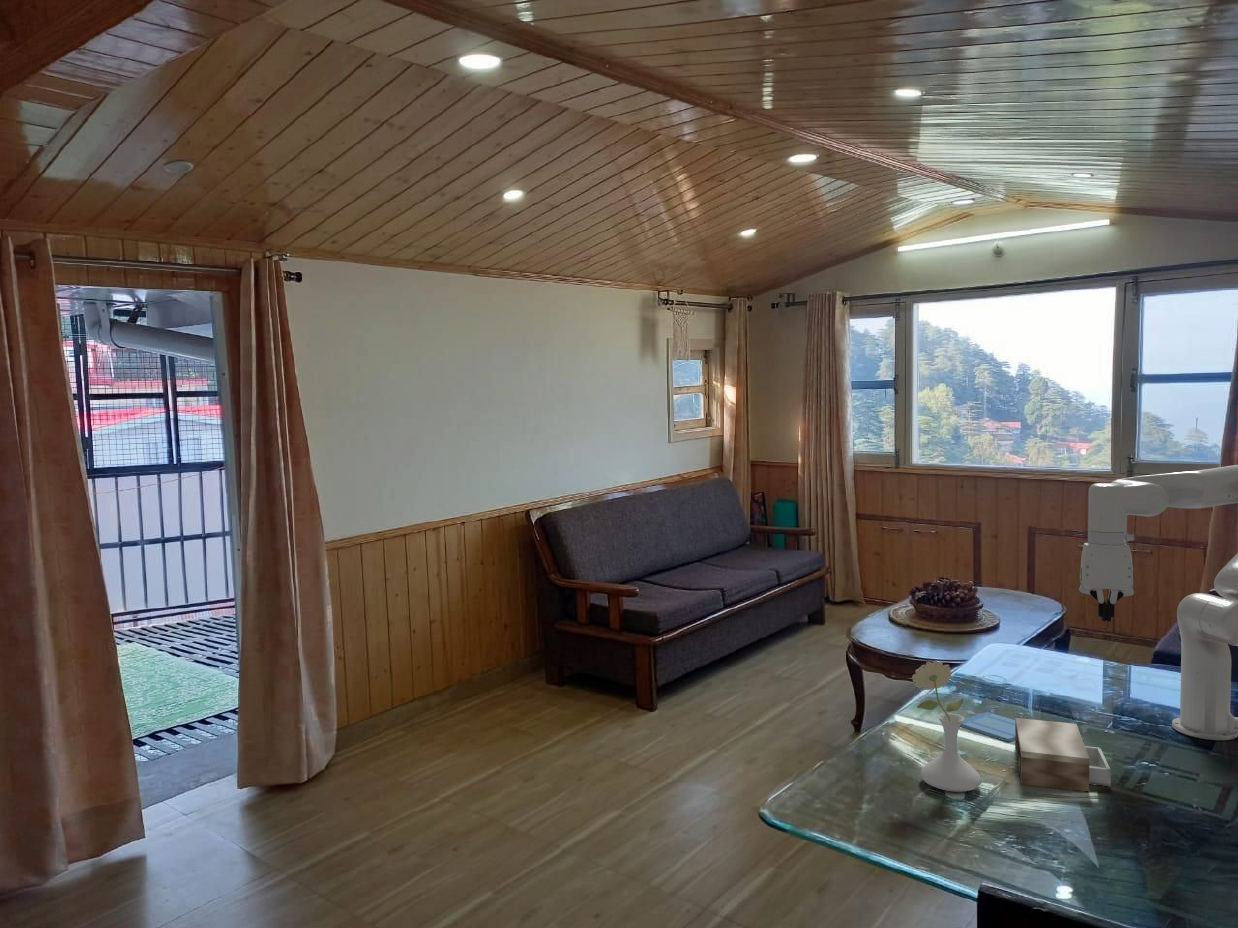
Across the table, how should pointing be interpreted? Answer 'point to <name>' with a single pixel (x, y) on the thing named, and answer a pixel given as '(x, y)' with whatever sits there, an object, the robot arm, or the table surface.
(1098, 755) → the white open tray
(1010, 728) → the blue flat rectangular slab
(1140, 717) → the table surface
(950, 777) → the flower in vase
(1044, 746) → the tan slab
